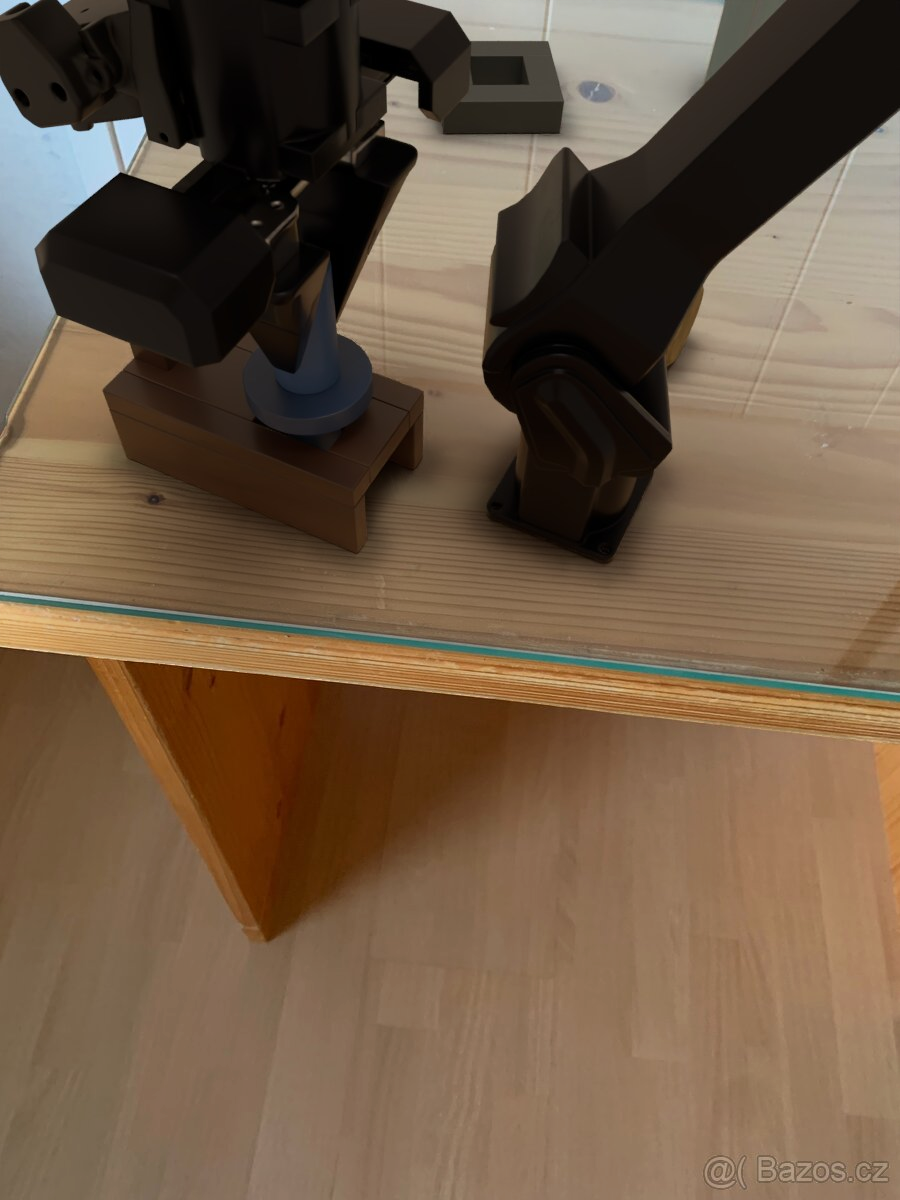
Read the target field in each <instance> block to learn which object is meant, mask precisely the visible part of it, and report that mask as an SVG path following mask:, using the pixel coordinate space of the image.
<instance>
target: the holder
mask: <svg viewBox="0 0 900 1200" xmlns="http://www.w3.org/2000/svg"><path fill="white" fill-rule="evenodd" d="M470 42H471V62H470V82H469V92H468V93H467V94H466V95H465V96H464V98H463V99H462V100H461V101H460V102H459V103H458V104H457V105H456V106H455V107H454V108H453V110H452V111H451V112H450V113H449V114H448V115H447V116H446V117H445V118H444V119H443V120H442V122H441V127H442V134H546V133H547V134H549V133H550V134H551V133H552V134H553V133H554V134H555V133H556V134H558V133H561V128H562V119H563V113H564V106H565V100H564V95H563V92H562V88H561V84H560V79H559V76H558V73H557V69H556V65H555V61H554V57H553V53H552V50H551V46H550V42H549V40H470Z"/></svg>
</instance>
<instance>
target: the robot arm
mask: <svg viewBox="0 0 900 1200" xmlns="http://www.w3.org/2000/svg"><path fill="white" fill-rule="evenodd" d="M470 41H471V40H470V39H469V37H468V36H467V34H466V32H465V31H464V29H463V28H462V26H461V25H460V23H459V22H458V20H457V19H456V17H455V16H454V14H453V13H452V11H450V10H447V9H443V8H439V7H435V6H432V5H428V4H425V3H420V2H417V1H413V0H68V1H66V2H65V3H63V4H62V3H61V2H60V1H59V0H37V1H36V2H34V3H33V4H31V3H29V2H28V1H23V2H19V3H17V4H15V5H14V6H12V7H11V8H9V9H7V10H5V12H2V13H1V14H0V80H1V82H2V84H3V86H4V87H5V89H6V91H7V93H8V95H9V96H10V99H12V101H13V103H14V104H15V107H16V108H17V110H18V111H19V113H20V114H21V116H22V117H23V118H24V119H25V120H27V122H29V123H31V124H32V125H34V126H35V127H37V128H39V129H47V128H55V127H63V126H71V128H72V130H73V131H76V132H81V133H82V132H89V131H91V130H92V129H94V126H95V124H102V123H110V122H111V123H112V122H117V121H127V120H133V119H135V120H136V119H141V118H142V120H143V124H144V128H145V132H146V135H147V139H148V141H150V142H153V143H156V144H159V145H162V146H165V147H169V148H171V149H174V150H181V149H182V148H183V147H185V146H186V144H189V145H191V146H194V147H195V146H196V147H198V148H199V152H200V157H201V158H202V160H201V161H200V162H199V163H198V164H196V166H194V167H193V168H192V169H191V170H190V171H189V172H187V173H186V174H185V175H184V176H183V177H182V178H181V179H179V181H177V182H176V183H175V184H174V185H172V187H171V188H169V187H166V186H164V185H160V184H157V183H154V182H152V181H149V180H145V179H143V178H140V177H137V176H134V175H131V174H127V173H126V172H123V171H120V172H119V173H117V174H116V175H114V176H113V177H112V178H111V179H110V180H108V181H107V182H106V183H105V184H104V185H102V186H101V187H100V188H99V189H97V190H96V191H95V192H94V193H93V194H92V195H91V196H89V197H87V199H85V200H84V201H83V202H82V203H81V204H79V205H78V206H77V207H76V208H75V209H73V210H72V211H71V212H70V213H68V214H67V215H66V216H65V217H64V218H62V220H60V221H59V222H57V223H56V224H55V225H54V226H53V227H52V228H50V229H49V230H48V231H47V233H46V234H45V235H44V236H43V237H42V238H41V239H40V241H39V243H37V245H36V246H35V247H34V249H33V250H34V254H35V257H36V262H37V267H38V270H39V273H40V276H41V278H42V281H43V284H44V286H45V289H46V291H47V294H48V296H49V299H50V302H51V304H52V307H53V309H54V312H55V314H56V316H58V317H61V318H63V319H66V320H68V321H71V322H73V323H76V324H79V325H81V326H84V327H86V328H89V329H92V330H94V331H97V332H100V333H102V334H105V335H108V336H110V337H112V338H114V339H118V340H121V341H123V342H125V343H128V344H130V343H131V344H133V345H136V346H139V347H141V348H144V349H146V350H149V351H152V352H154V353H157V354H159V355H162V356H165V357H167V358H170V359H172V360H175V361H178V362H180V363H183V364H185V365H188V366H191V367H193V368H196V367H201V366H206V365H211V364H216V363H221V362H222V360H223V359H224V358H225V357H226V356H227V355H228V354H229V353H230V352H231V351H232V350H233V348H234V347H235V346H236V345H237V344H238V343H239V342H240V341H241V340H242V339H243V338H244V336H245V335H246V334H247V333H248V332H249V333H250V334H251V335H252V337H253V338H254V340H255V341H256V343H257V344H258V346H259V347H260V349H261V350H262V351H263V353H264V354H265V356H266V357H267V359H268V360H269V362H270V363H271V364H272V365H273V366H274V367H275V368H277V369H280V370H282V371H285V372H288V373H291V374H295V373H296V372H297V370H298V369H299V368H300V365H301V362H302V359H303V356H304V353H305V349H306V346H307V343H308V339H309V335H310V331H311V327H312V323H313V319H314V315H315V311H316V308H317V304H318V300H319V296H320V292H321V289H322V285H323V281H324V277H325V274H326V270H327V266H328V262H329V258H330V260H331V268H332V279H333V291H334V303H335V315H336V325H338V323H339V321H340V318H341V316H342V314H343V312H344V309H345V307H346V305H347V303H348V301H349V299H350V296H351V294H352V292H353V290H354V288H355V285H356V283H357V281H358V279H359V276H360V275H361V273H362V270H363V268H364V266H365V263H366V262H367V259H368V257H369V256H370V253H371V251H372V250H373V247H374V245H375V243H376V241H377V238H378V236H379V234H380V232H381V230H382V229H383V227H384V224H385V222H386V220H387V218H388V216H389V214H390V213H391V210H392V208H393V206H394V204H395V202H396V200H397V198H398V196H399V194H400V192H401V189H402V188H403V186H404V184H405V182H406V180H407V177H408V176H409V174H410V173H411V171H412V170H413V169H414V168H415V166H416V165H417V161H418V158H419V151H418V149H417V148H416V147H415V145H412V144H411V143H407V142H404V141H401V140H398V139H395V138H391V137H388V136H386V121H385V120H384V119H382V118H383V117H385V115H386V114H388V91H387V89H388V88H387V86H388V85H389V84H390V83H391V82H392V81H393V80H394V79H395V78H396V77H398V78H401V79H405V80H409V81H412V82H416V83H417V108H418V110H419V111H420V112H421V113H422V114H423V115H424V117H426V119H428V120H431V121H434V122H438V123H442V120H443V119H444V118H445V117H446V116H447V115H448V114H449V113H450V112H451V111H452V110H453V108H454V107H455V106H456V105H457V104H458V103H459V102H460V101H461V100H462V99H463V98H464V96H465V95H466V94H467V93H468V92H469V82H470V62H471V42H470ZM899 112H900V0H786V1H785V2H784V3H783V4H782V5H781V6H780V7H779V8H778V9H777V10H776V11H775V12H774V13H773V14H772V15H771V16H770V17H769V18H768V19H767V20H766V21H765V23H764V24H763V25H762V26H761V27H760V28H759V29H758V30H757V31H756V32H755V33H754V34H753V35H752V36H751V37H750V38H749V39H748V40H747V41H746V42H745V43H744V44H743V45H742V46H741V47H740V48H739V49H738V50H737V51H736V52H735V53H734V54H733V55H732V56H731V57H730V58H729V59H728V60H727V61H726V62H725V63H724V64H723V65H722V67H721V68H720V69H719V70H718V71H717V72H716V73H715V74H714V75H713V76H712V77H711V78H710V79H709V80H708V81H707V82H706V83H705V82H704V84H703V85H702V86H701V87H699V89H698V90H697V91H696V92H695V93H694V94H693V95H692V96H691V97H690V98H689V99H688V100H687V101H686V102H685V103H684V104H683V105H682V106H681V107H680V108H679V109H678V110H677V112H675V113H674V114H673V115H672V117H670V119H669V120H668V121H667V122H666V123H664V125H663V126H662V127H661V128H660V129H658V131H657V132H656V133H654V135H653V136H652V137H651V138H650V139H649V140H648V141H647V142H646V143H645V144H644V145H642V146H641V147H640V148H639V149H637V150H636V151H634V152H633V153H631V154H630V155H628V156H626V157H623V158H621V159H617V160H613V161H612V162H609V163H606V164H604V165H600V166H597V167H595V168H592V169H590V170H589V169H588V167H586V165H585V164H584V163H583V162H582V161H581V160H580V158H579V157H578V156H577V155H576V153H574V151H573V150H572V149H571V148H570V147H568V146H563V147H562V148H561V149H560V150H559V151H558V152H556V154H554V156H553V157H552V159H551V160H550V162H549V163H548V164H547V166H546V168H545V170H544V171H543V173H542V174H541V176H540V178H539V179H538V181H537V182H536V183H535V185H534V186H533V187H532V189H531V190H529V192H527V194H525V195H524V196H523V197H522V198H521V199H519V200H518V201H517V202H516V203H513V204H512V205H509V206H508V207H505V208H504V209H502V210H500V211H498V213H497V222H496V231H495V232H496V235H495V244H494V246H493V249H492V253H491V256H490V264H489V273H488V274H489V275H488V287H487V296H486V297H487V298H486V309H485V310H486V311H485V323H484V336H483V344H482V345H483V347H482V359H481V370H482V375H483V381H484V384H485V386H486V388H487V389H488V391H489V393H490V394H491V396H492V398H493V399H494V400H495V401H496V402H497V403H499V404H500V405H501V406H502V407H503V408H504V409H506V410H507V411H508V412H510V413H512V414H514V415H516V418H517V421H518V423H519V426H520V430H519V431H520V432H519V439H518V446H517V453H516V454H515V456H514V458H513V460H512V461H511V462H510V465H509V467H508V468H507V470H506V471H505V473H504V475H503V476H502V477H501V480H500V481H499V483H498V484H497V486H496V488H495V489H494V491H493V493H492V494H491V496H490V498H489V500H488V501H487V503H486V508H485V512H486V515H487V517H488V518H490V519H491V520H493V521H496V522H500V523H502V524H504V525H507V526H509V527H512V528H514V529H517V530H519V531H522V532H524V533H527V534H530V535H532V536H534V537H537V538H540V539H542V540H544V541H547V542H550V543H551V544H555V545H557V546H560V547H562V548H565V549H567V550H570V551H571V552H572V551H573V552H575V553H577V554H580V555H582V556H585V557H588V558H590V559H593V560H595V561H597V562H600V563H609V562H612V561H613V560H614V559H615V557H616V555H617V552H618V550H619V549H620V547H621V544H622V543H623V540H624V538H625V536H626V534H627V531H628V529H629V527H630V525H631V523H632V521H633V519H634V517H635V515H636V513H637V511H638V508H639V507H640V504H641V502H642V500H643V499H644V496H645V494H646V492H647V490H648V488H649V486H650V483H651V482H652V479H653V477H654V474H655V470H656V469H657V468H658V467H659V466H660V465H661V464H662V462H664V460H665V459H666V458H667V457H668V456H669V455H670V453H671V452H672V450H673V449H674V448H673V447H674V446H673V437H672V436H673V435H672V423H671V422H672V421H671V410H670V395H669V381H668V370H667V368H668V367H666V355H665V353H666V351H667V349H668V348H669V346H670V344H671V342H672V340H673V339H674V337H675V335H676V333H677V331H678V330H679V328H680V326H681V324H682V322H683V321H684V319H685V317H686V315H687V313H688V312H689V310H690V308H691V306H692V304H693V302H694V301H695V299H696V297H697V295H698V293H699V292H700V290H701V288H702V286H703V287H704V285H705V282H706V281H707V279H708V277H709V276H710V275H711V273H712V272H713V271H714V270H715V268H716V267H717V266H718V265H719V264H720V263H721V262H722V261H723V260H724V259H725V258H727V256H729V255H730V254H731V253H732V252H733V251H735V250H736V249H737V248H738V247H739V246H741V245H742V244H743V243H745V241H747V240H748V239H749V238H750V237H751V236H753V235H754V234H755V233H756V232H758V230H760V229H762V227H764V225H766V224H767V223H769V221H770V220H772V219H773V218H774V217H775V216H776V215H778V214H779V213H780V212H781V211H783V210H784V209H785V208H786V207H787V206H789V204H791V203H792V202H793V201H794V200H795V199H796V198H798V197H799V196H801V194H802V193H804V192H805V191H806V190H807V189H809V187H811V186H812V185H813V184H814V183H816V182H817V181H818V180H819V179H821V178H822V177H823V176H824V175H825V174H826V173H828V172H829V171H830V170H831V169H832V168H833V167H834V166H836V165H837V164H838V163H839V162H841V161H842V160H843V159H844V158H846V157H847V156H848V155H849V154H850V153H851V152H852V151H854V150H855V149H856V148H858V146H860V145H861V144H862V143H863V142H864V141H865V140H867V139H868V138H869V137H870V136H872V135H873V134H874V133H875V132H876V131H878V130H879V129H880V128H881V127H882V126H883V125H884V124H886V123H887V122H889V120H891V119H892V118H893V117H894V116H895V115H897V114H898V113H899ZM308 243H309V244H308ZM311 244H313V245H311ZM314 245H315V246H314ZM317 246H318V247H317ZM495 508H497V509H499V510H497V509H495ZM603 550H605V551H607V552H603Z"/></svg>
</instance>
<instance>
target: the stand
mask: <svg viewBox="0 0 900 1200" xmlns="http://www.w3.org/2000/svg"><path fill="white" fill-rule="evenodd" d="M129 346H130V350H131V353H132V356H133V358H132V359H131V360H130V361H129V362H128V363H127V364H126V365H125V366H124V367H123V368H122V370H120V371H119V372H118V373H117V374H116V375H115V376H114V377H112V379H111V380H110V381H109V382H108V383H107V384H106V385H105V386H104V387H103V388H102V395H103V397H104V399H105V402H106V406H107V407H108V410H109V413H110V416H111V419H112V421H113V424H114V427H115V429H116V432H117V435H118V437H119V440H120V443H121V446H122V449H123V451H124V454H125V456H126V458H128V459H131V460H133V461H135V462H138V463H139V464H143V465H145V466H147V467H149V468H152V469H154V470H157V471H159V472H161V473H164V474H167V475H168V476H171V477H174V478H176V479H178V480H180V481H182V482H186V483H188V484H190V485H192V486H195V487H197V488H200V489H202V490H204V491H206V492H209V493H212V494H213V495H216V496H218V497H221V498H224V499H225V500H228V501H231V502H233V503H235V504H238V505H240V506H243V507H245V508H248V509H250V510H252V511H255V512H256V513H259V514H261V515H264V516H266V517H268V518H271V519H274V520H276V521H278V522H280V523H283V524H285V525H288V526H290V527H293V528H295V529H297V530H300V531H302V532H304V533H307V534H309V535H312V536H314V537H317V538H319V539H321V540H323V541H326V542H329V543H330V544H333V545H336V546H338V547H340V548H343V549H345V550H347V551H350V552H353V553H355V554H358V553H359V552H360V550H362V547H363V546H364V544H365V543H366V542H367V540H368V531H367V530H368V529H367V515H366V514H367V513H366V512H367V511H366V499H365V498H366V497H365V493H366V491H367V490H368V489H369V487H370V485H371V484H372V483H373V481H374V480H375V479H376V478H377V476H378V475H379V473H380V471H381V470H382V469H383V467H385V464H386V463H387V461H390V462H393V463H396V464H397V465H400V466H403V467H406V468H408V469H411V470H415V469H416V467H418V465H419V463H420V462H421V460H422V459H423V456H424V455H423V454H424V410H425V391H424V390H422V389H420V388H417V387H414V386H411V385H409V384H406V383H404V382H400V381H398V380H396V379H393V378H389V377H387V376H384V375H382V374H379V373H377V372H374V371H373V395H372V399H371V401H370V403H369V405H368V407H367V409H366V410H365V411H364V412H363V414H362V415H361V416H360V417H358V418H357V419H356V420H355V421H353V422H352V423H350V424H349V425H347V426H345V427H343V428H341V434H340V436H339V437H338V438H337V440H336V441H335V442H334V444H333V445H332V446H331V448H330V449H329V450H328V452H327V451H324V450H322V449H319V448H317V447H314V446H312V445H309V444H307V443H304V442H302V441H299V440H297V439H294V438H292V437H289V435H286V434H285V433H284V434H283V433H282V432H280V431H277V430H275V429H272V428H270V427H268V426H267V425H266V424H264V423H263V422H261V421H260V420H259V419H258V418H257V417H256V416H255V415H254V414H253V412H252V411H251V410H250V408H249V406H248V403H247V400H246V396H245V391H244V386H243V379H242V376H243V369H244V366H245V364H246V361H247V359H248V358H249V356H250V355H251V354H252V353H253V351H254V350H255V349H256V348H258V347H259V346H258V344H257V343H256V341H255V340H254V338H253V337H252V335H251V334H250V333H249V332H248V333H247V334H246V335H245V336H244V338H243V339H242V340H241V341H240V342H239V343H238V344H237V345H236V346H235V347H234V348H233V350H232V351H231V352H230V353H229V354H228V355H227V356H226V357H225V358H224V359H223V360H222V362H221V363H216V364H211V365H206V366H201V367H196V368H193V367H191V366H188V365H185V364H183V363H180V362H178V361H175V360H172V359H170V358H167V357H165V356H162V355H159V354H157V353H154V352H152V351H149V350H146V349H144V348H141V347H139V346H136V345H133V344H131V343H129Z"/></svg>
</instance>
